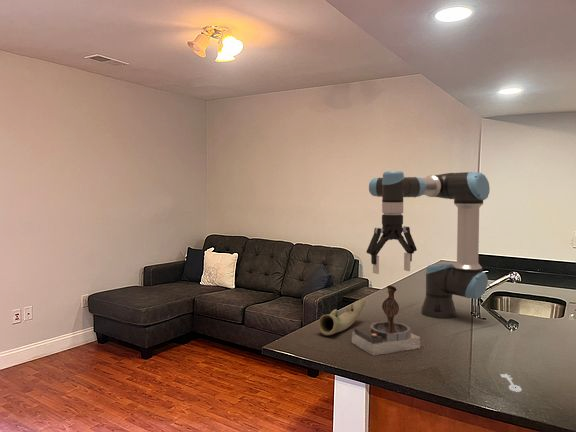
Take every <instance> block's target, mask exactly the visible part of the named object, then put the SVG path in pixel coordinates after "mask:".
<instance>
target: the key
mask: <svg viewBox="0 0 576 432" xmlns="http://www.w3.org/2000/svg"><path fill="white" fill-rule="evenodd" d="M500 376H501V378H505V379H506V380H508V382H509V383H510V385H508V388H509V390H510V391H513V392H516V393H518V392H522V388H521V386H520V385H517V384H514V382H513V381H512V380H513V377H511V375H510V374H509V375H508V373H500ZM515 387H516V388H515Z"/></svg>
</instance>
